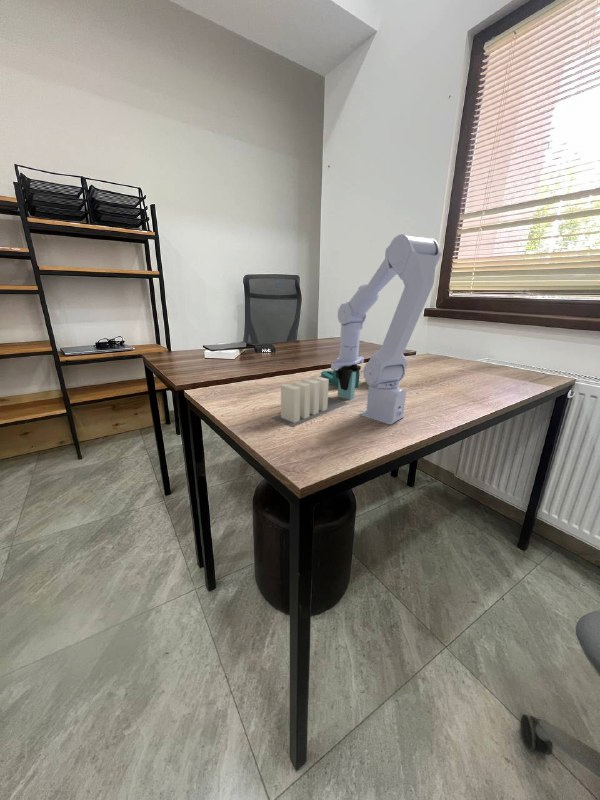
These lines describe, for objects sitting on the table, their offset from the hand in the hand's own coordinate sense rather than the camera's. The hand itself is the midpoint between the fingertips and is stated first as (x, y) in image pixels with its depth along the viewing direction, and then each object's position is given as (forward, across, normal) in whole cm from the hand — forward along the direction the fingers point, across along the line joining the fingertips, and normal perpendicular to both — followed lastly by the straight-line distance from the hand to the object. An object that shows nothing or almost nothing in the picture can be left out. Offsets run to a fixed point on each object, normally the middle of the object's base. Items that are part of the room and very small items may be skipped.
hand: (346, 388), depth 97 cm
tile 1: (+3, 0, 0) cm, 3 cm away
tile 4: (+3, +21, 0) cm, 21 cm away
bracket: (+4, -12, -13) cm, 18 cm away
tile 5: (+3, +25, 0) cm, 25 cm away
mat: (+3, +16, 0) cm, 16 cm away
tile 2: (+3, +14, 0) cm, 14 cm away
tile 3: (+3, +17, 0) cm, 18 cm away
